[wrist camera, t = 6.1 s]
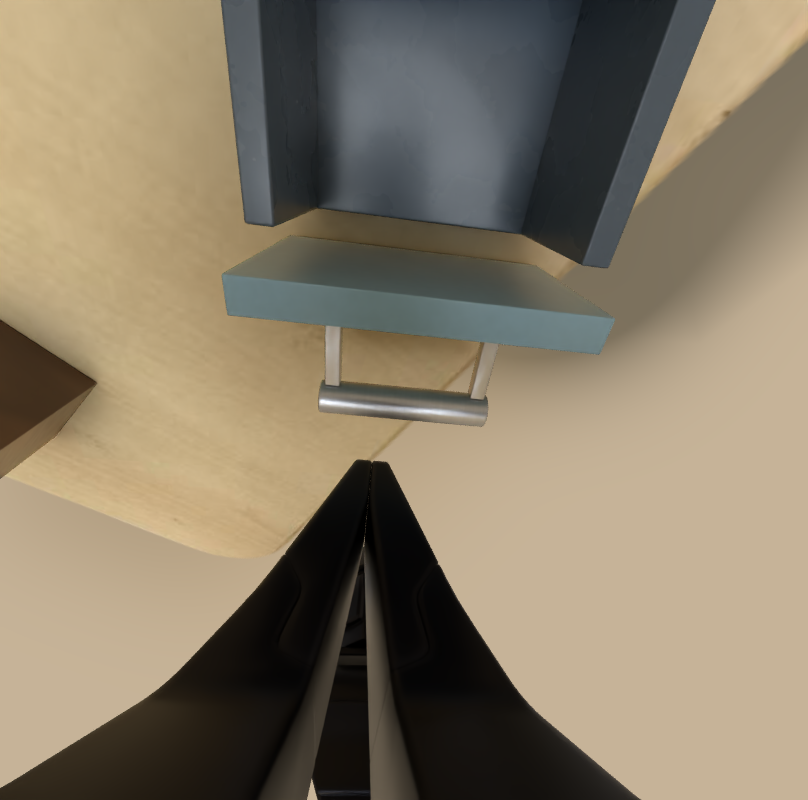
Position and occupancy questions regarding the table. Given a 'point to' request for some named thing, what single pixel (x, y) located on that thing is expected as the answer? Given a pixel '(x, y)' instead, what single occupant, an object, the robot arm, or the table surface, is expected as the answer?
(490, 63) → the freezer drawer
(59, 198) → the table surface
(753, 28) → the table surface
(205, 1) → the table surface
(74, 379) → the brown block
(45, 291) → the table surface
